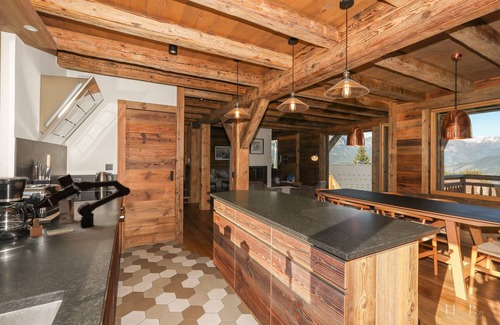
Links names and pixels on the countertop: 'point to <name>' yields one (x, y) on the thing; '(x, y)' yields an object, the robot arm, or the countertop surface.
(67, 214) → the coffee box
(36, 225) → the pin
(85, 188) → the robot arm
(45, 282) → the countertop surface
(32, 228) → the orange open box
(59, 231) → the tray
